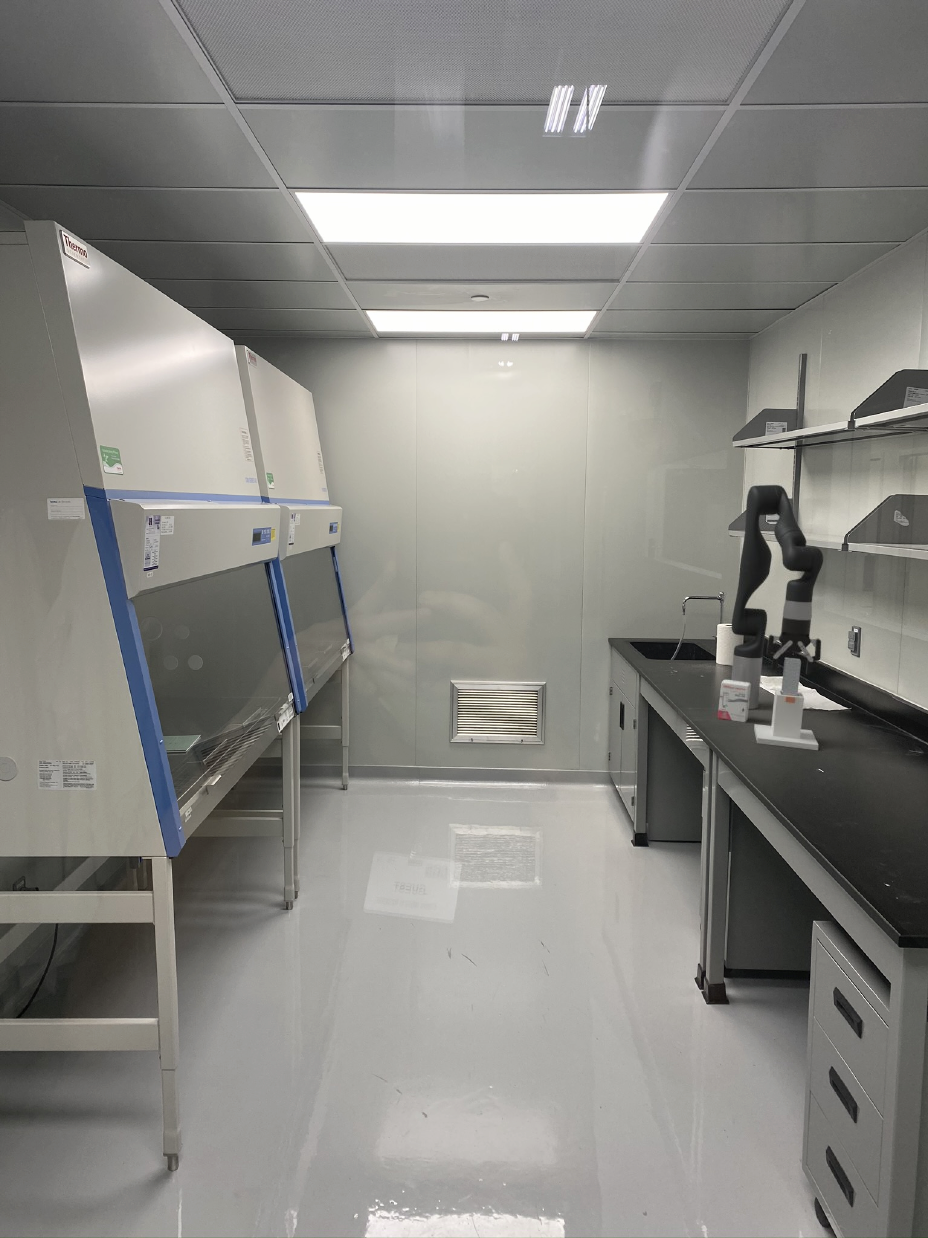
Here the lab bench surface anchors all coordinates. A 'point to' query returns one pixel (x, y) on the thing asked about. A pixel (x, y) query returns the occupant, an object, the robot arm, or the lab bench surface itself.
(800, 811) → the lab bench surface
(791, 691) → the steel post
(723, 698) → the ink box
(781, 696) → the stand housing
